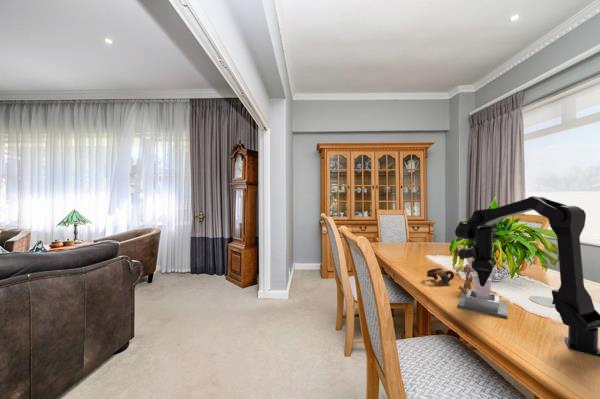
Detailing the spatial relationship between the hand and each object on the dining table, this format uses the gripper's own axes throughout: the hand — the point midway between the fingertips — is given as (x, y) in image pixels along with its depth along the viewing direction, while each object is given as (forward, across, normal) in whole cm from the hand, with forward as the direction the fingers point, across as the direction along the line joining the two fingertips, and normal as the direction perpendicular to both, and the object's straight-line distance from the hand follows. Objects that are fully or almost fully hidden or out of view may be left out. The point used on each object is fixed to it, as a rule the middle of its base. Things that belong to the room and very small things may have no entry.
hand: (482, 282), depth 103 cm
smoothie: (+8, 0, 0) cm, 8 cm away
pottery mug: (+9, -21, -18) cm, 29 cm away
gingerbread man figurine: (+9, -15, -6) cm, 19 cm away
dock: (+9, 0, 0) cm, 9 cm away
